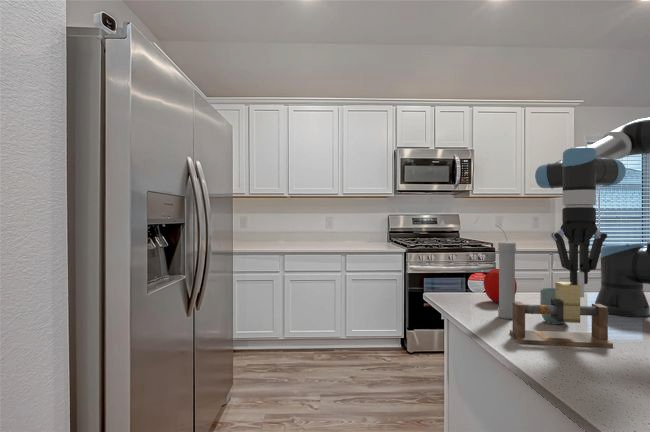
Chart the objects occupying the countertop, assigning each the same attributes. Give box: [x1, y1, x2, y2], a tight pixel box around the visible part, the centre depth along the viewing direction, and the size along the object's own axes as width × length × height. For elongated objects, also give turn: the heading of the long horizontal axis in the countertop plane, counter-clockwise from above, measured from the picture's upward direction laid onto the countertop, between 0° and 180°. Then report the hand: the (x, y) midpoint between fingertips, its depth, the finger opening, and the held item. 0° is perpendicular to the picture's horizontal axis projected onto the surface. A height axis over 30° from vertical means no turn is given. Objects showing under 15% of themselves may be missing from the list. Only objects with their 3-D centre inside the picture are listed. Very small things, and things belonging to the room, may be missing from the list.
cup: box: [539, 287, 566, 325], centre depth 125 cm, size 8×8×10 cm
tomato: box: [483, 267, 518, 304], centre depth 153 cm, size 12×12×13 cm
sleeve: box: [554, 281, 581, 324], centre depth 107 cm, size 4×5×10 cm
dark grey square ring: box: [551, 299, 563, 322], centre depth 108 cm, size 1×5×5 cm, turn 171°
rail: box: [509, 301, 614, 348], centre depth 108 cm, size 22×9×10 cm, turn 81°
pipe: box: [495, 224, 517, 320], centre depth 132 cm, size 6×6×30 cm
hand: (578, 296), depth 107 cm, fingers closed
